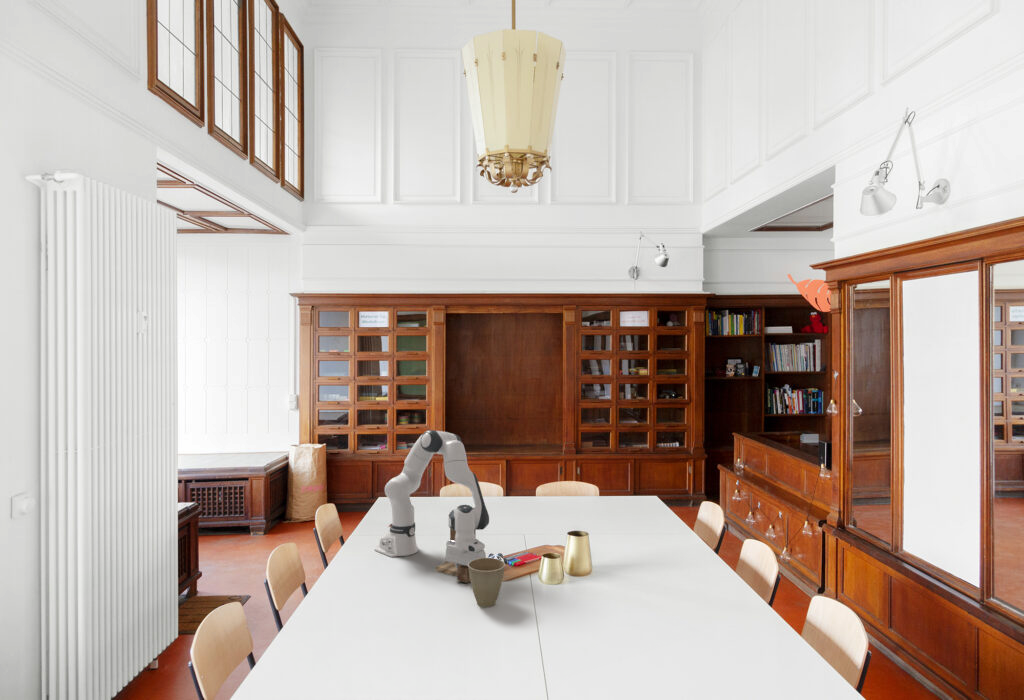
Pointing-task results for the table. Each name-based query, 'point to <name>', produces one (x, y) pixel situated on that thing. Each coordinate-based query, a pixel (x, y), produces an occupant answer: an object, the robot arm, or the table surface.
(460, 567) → the block
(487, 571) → the plant pot
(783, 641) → the table surface
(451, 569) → the board
